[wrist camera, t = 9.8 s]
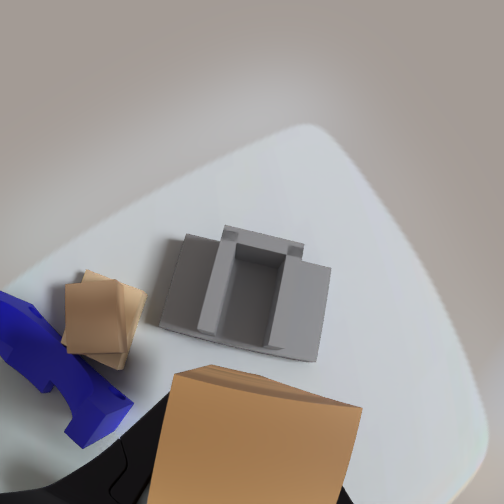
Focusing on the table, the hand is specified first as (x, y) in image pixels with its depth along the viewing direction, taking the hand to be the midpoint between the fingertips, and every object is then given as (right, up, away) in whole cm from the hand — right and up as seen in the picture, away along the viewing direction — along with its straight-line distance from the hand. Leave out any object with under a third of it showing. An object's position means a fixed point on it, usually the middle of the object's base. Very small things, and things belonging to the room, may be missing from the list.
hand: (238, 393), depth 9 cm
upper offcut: (-10, 0, +11) cm, 15 cm away
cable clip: (-14, -5, +11) cm, 19 cm away
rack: (0, +1, +14) cm, 14 cm away
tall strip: (-1, -3, +5) cm, 6 cm away
